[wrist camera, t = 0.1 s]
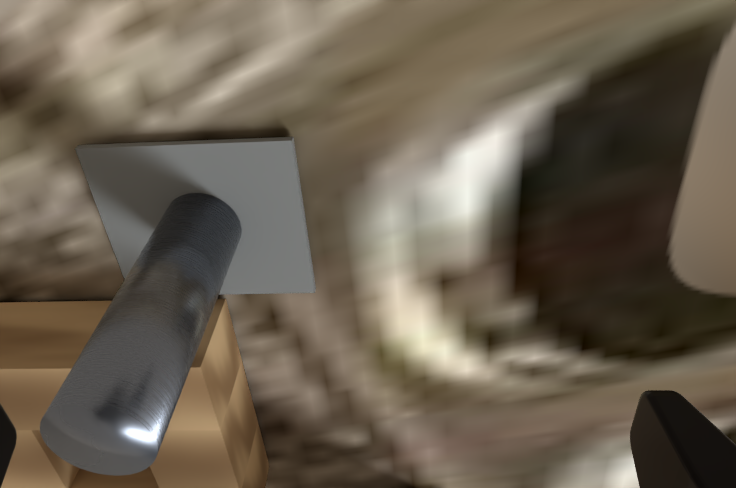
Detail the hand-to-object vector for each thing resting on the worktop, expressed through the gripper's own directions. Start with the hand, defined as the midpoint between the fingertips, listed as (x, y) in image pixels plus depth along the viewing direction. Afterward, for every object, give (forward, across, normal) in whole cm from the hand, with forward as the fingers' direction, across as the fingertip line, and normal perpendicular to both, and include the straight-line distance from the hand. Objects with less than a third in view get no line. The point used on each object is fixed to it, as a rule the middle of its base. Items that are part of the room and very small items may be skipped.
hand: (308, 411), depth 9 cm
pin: (+14, +7, +6) cm, 17 cm away
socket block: (+14, +13, +16) cm, 25 cm away
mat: (+14, +7, +6) cm, 17 cm away
